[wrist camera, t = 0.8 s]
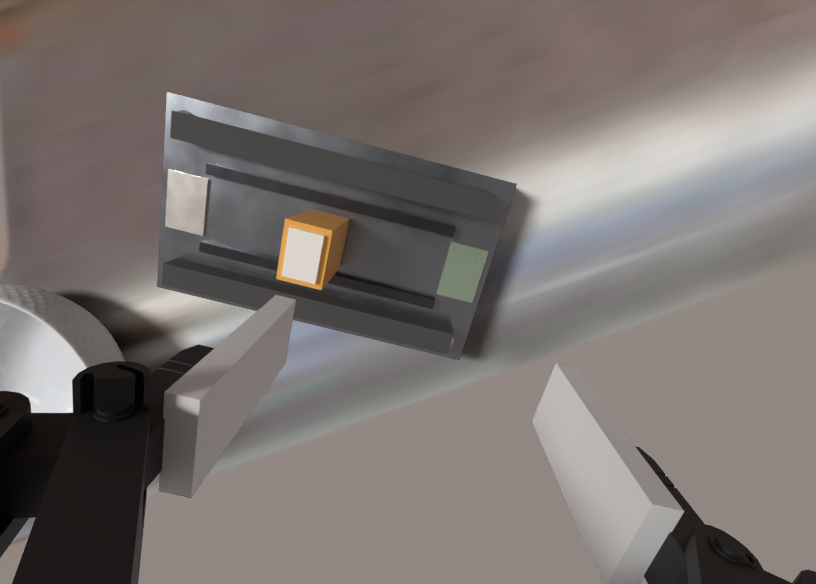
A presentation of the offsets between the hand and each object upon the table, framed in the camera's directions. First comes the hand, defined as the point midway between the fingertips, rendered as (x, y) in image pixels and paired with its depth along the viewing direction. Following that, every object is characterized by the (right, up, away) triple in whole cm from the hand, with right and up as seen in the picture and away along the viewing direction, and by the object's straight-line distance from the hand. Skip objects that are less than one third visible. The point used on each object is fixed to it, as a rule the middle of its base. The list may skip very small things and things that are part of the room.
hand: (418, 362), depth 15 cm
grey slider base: (-7, +8, +18) cm, 21 cm away
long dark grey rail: (-5, +12, +14) cm, 19 cm away
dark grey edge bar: (-8, +2, +17) cm, 19 cm away
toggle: (-7, +7, +15) cm, 18 cm away
